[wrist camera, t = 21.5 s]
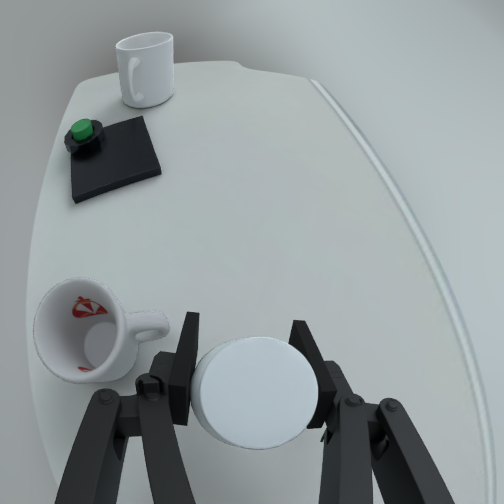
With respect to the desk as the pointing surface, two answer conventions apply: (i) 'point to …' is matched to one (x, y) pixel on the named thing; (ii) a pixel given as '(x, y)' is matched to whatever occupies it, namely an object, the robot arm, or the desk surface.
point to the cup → (91, 332)
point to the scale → (111, 158)
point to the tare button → (81, 129)
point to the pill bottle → (254, 392)
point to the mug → (146, 68)
